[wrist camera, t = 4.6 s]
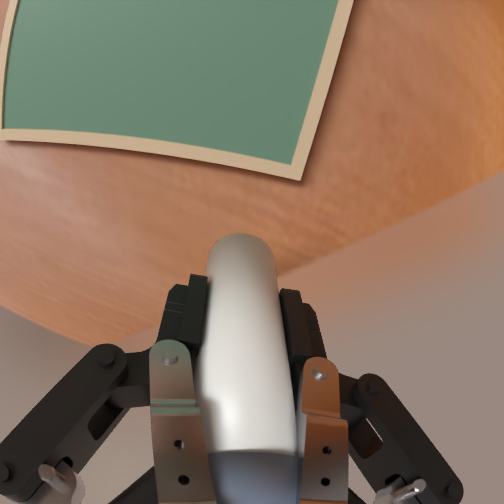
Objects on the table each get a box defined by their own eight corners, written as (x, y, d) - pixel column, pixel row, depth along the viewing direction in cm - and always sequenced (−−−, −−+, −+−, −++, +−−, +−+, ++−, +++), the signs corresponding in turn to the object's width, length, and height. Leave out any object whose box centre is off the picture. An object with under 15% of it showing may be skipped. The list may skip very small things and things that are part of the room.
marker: (283, 238, 15) (336, 521, 5) (266, 292, 16) (288, 534, 6) (211, 225, 14) (178, 525, 4) (201, 282, 16) (176, 531, 6)
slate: (362, -51, 11) (367, -55, 10) (297, 175, 19) (300, 181, 18) (43, -70, 7) (36, -74, 6) (2, 136, 16) (-6, 139, 15)
